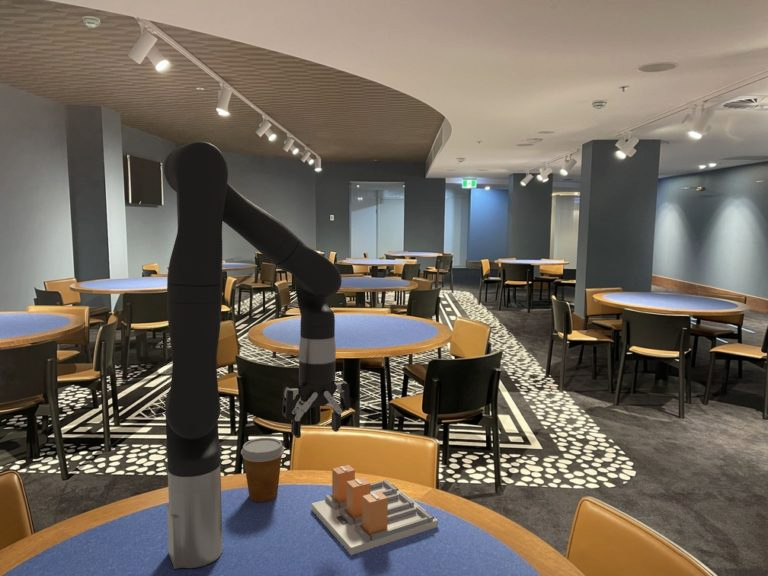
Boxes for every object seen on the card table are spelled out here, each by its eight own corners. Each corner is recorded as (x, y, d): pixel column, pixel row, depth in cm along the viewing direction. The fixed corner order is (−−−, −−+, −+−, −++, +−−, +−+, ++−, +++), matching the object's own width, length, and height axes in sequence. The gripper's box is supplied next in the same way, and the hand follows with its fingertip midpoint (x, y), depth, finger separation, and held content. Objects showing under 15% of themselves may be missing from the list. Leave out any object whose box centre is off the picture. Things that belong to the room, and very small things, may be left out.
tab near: (369, 537, 107) (369, 501, 106) (362, 529, 109) (362, 494, 109) (387, 531, 109) (387, 496, 108) (379, 524, 111) (380, 490, 111)
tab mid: (353, 520, 113) (353, 486, 112) (346, 513, 115) (346, 480, 115) (370, 515, 115) (370, 482, 114) (363, 508, 117) (363, 476, 117)
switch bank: (351, 555, 104) (351, 542, 104) (311, 510, 120) (311, 499, 120) (437, 526, 114) (438, 515, 114) (390, 488, 130) (390, 478, 130)
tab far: (338, 505, 119) (338, 473, 118) (332, 499, 121) (332, 467, 121) (354, 500, 121) (354, 469, 120) (348, 494, 123) (348, 463, 123)
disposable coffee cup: (289, 486, 131) (288, 437, 129) (277, 507, 121) (277, 454, 120) (250, 484, 132) (249, 435, 130) (235, 504, 122) (234, 452, 121)
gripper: (290, 365, 108) (290, 445, 109) (356, 358, 115) (354, 434, 116) (278, 357, 114) (278, 433, 116) (341, 351, 121) (339, 422, 123)
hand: (316, 433), depth 116 cm, fingers open, 8 cm apart
